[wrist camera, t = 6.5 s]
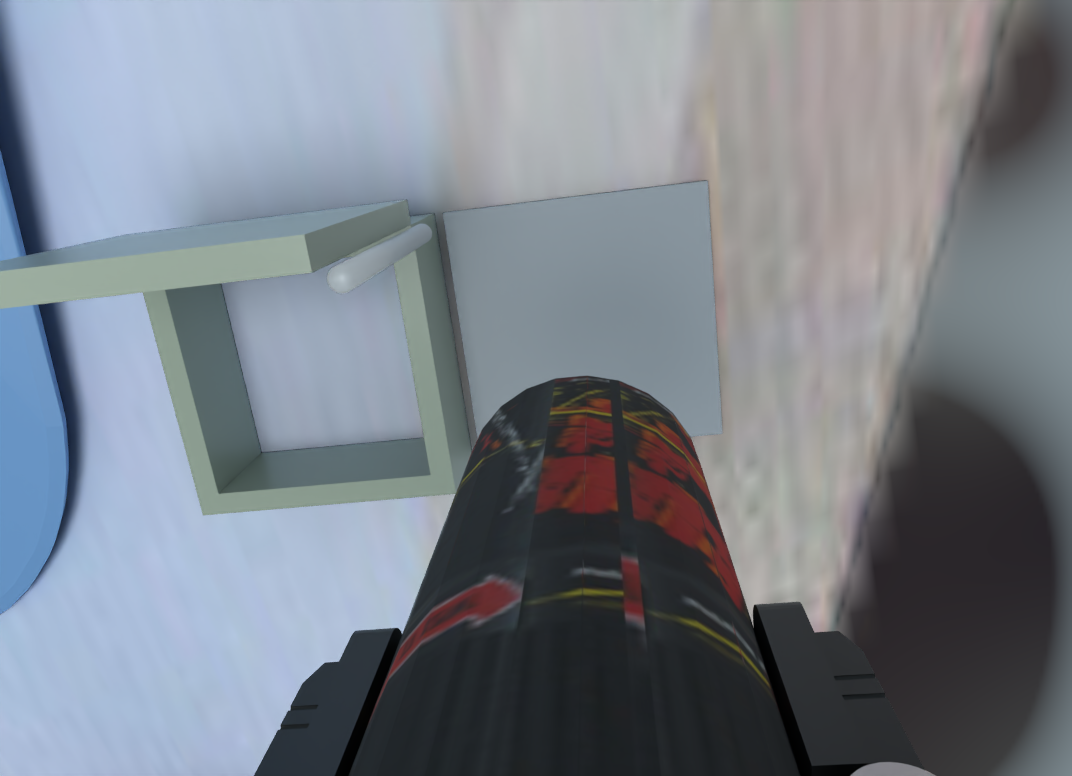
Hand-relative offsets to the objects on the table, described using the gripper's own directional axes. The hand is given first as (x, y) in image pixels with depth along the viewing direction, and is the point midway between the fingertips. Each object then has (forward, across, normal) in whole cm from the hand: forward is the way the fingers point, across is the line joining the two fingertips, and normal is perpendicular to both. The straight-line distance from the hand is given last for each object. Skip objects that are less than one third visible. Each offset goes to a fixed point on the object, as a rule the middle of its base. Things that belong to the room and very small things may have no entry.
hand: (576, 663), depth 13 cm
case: (+26, +12, 0) cm, 29 cm away
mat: (+26, 0, 0) cm, 26 cm away
